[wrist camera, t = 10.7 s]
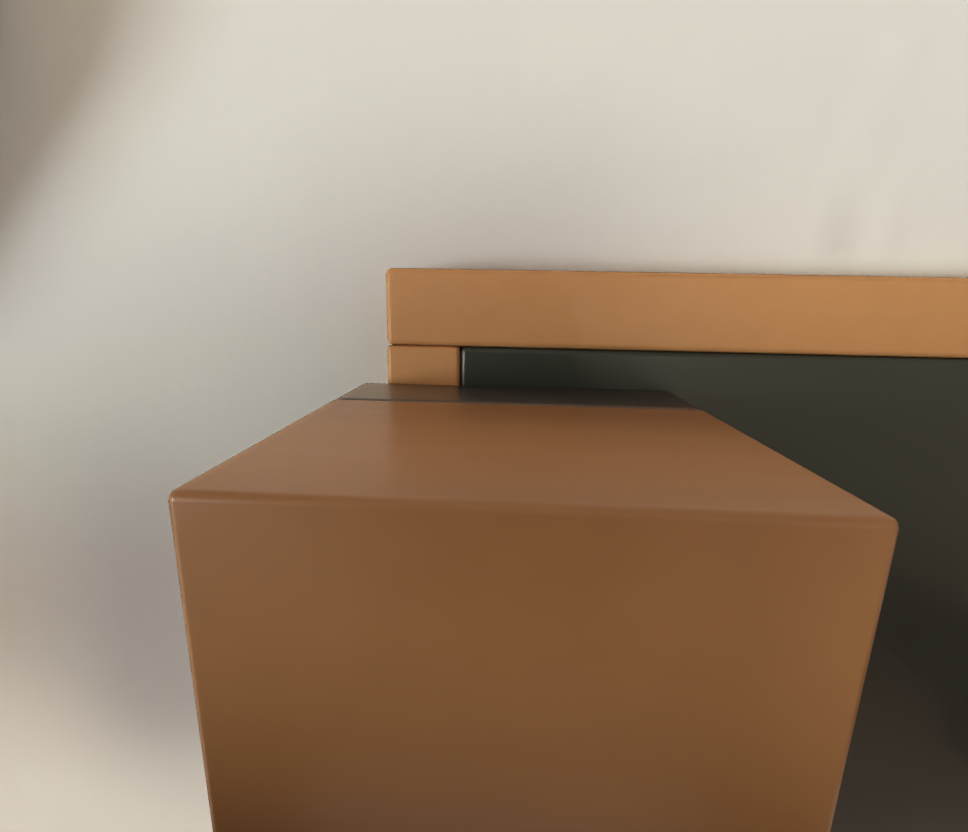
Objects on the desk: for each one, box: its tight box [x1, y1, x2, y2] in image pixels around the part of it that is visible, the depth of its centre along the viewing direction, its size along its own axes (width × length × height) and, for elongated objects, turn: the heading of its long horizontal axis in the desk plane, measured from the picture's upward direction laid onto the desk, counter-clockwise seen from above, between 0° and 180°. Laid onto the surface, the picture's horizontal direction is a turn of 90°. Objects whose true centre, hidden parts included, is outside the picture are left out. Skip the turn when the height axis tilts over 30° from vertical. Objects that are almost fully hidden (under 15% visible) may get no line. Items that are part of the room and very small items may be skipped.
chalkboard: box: [386, 268, 968, 832], centre depth 10 cm, size 20×16×1 cm
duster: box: [168, 383, 899, 832], centre depth 7 cm, size 12×5×5 cm, turn 179°
